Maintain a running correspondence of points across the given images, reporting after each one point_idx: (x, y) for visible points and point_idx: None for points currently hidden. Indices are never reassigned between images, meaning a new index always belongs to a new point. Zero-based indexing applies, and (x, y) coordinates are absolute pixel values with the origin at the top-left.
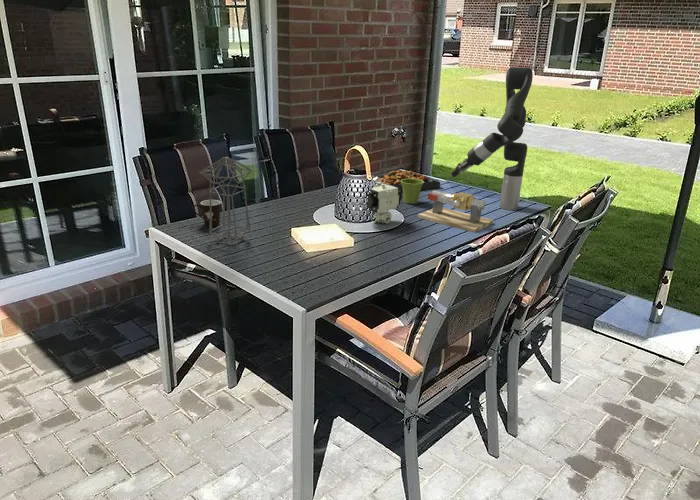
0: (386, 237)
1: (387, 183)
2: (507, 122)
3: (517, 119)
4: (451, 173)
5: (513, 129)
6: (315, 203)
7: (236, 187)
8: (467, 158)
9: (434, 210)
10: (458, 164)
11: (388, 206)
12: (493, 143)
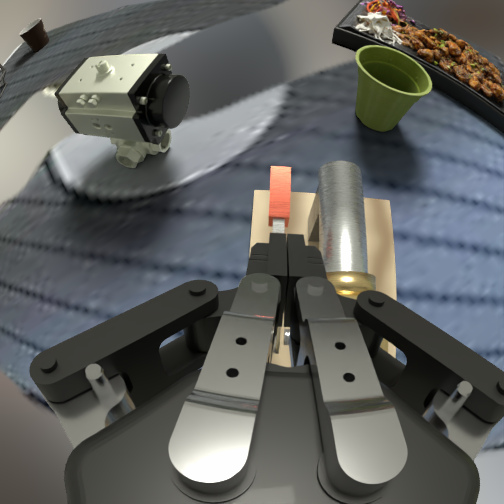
0: (45, 227)
1: (407, 42)
2: None
3: None
4: (270, 233)
5: None
6: (192, 20)
7: None
8: (337, 459)
9: (309, 221)
10: (39, 363)
11: (107, 135)
12: None
